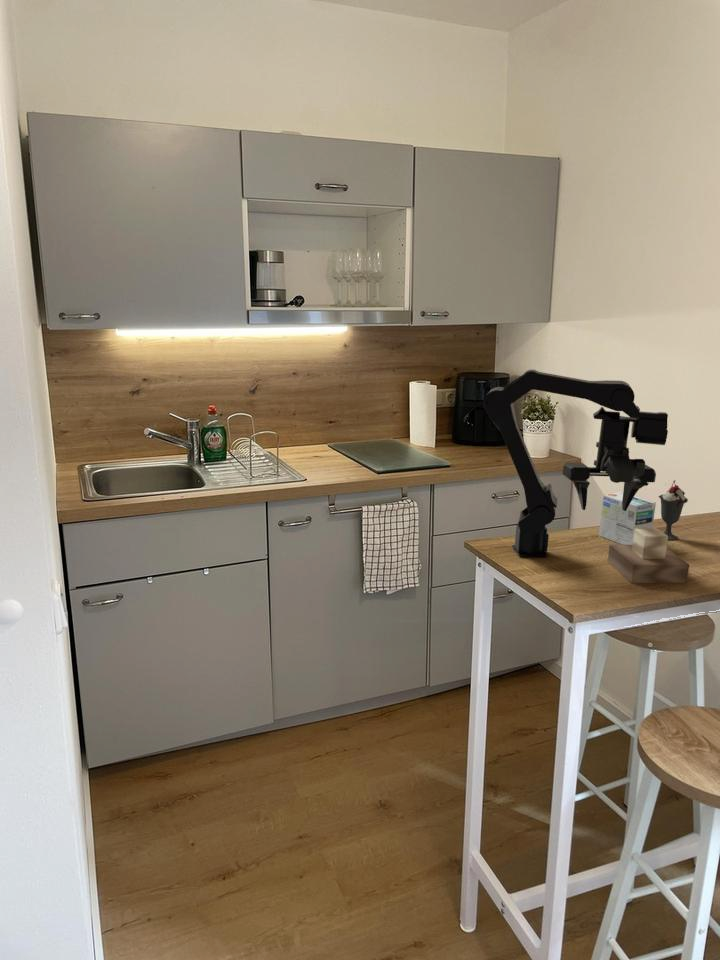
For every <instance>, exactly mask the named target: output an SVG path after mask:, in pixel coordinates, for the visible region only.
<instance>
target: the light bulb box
mask: <svg viewBox="0 0 720 960" xmlns="http://www.w3.org/2000/svg"><path fill="white" fill-rule="evenodd" d="M622 500H623V491H617V492H612V493H611V492H610V493H604V494H603V495H602V502H601V510H600V511H601V512H600V519H599V527H598V536H599V537H602V538H605V539H606V540H610V541H612V542H615V543H617V544H619V545H633V537H634V530H635V529H654V527H653V526H654V519H655V513H656V512H655V511H656V505H657V502H655V501H652V500H648V499H646V498H645V499H644V498H641V497H638V496H636V495H635V496H634V497H633V499H632V501H631V503H630V504H629V506H628V508H627V510H626V511H624V510H622Z"/></svg>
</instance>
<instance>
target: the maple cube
mask: <svg viewBox="0 0 720 960" xmlns="http://www.w3.org/2000/svg"><path fill="white" fill-rule="evenodd" d="M668 541H669V540H668V536H667V535H666V534H664V531H661V530H659V529H658V528H653V529H635V530H634V537H633V545H632V551H633V552H634V553H636V554H637V555H638V556H639V557H641V558H642V559H665V555H666V548H667V546H668ZM667 549H668V548H667Z"/></svg>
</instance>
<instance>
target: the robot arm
mask: <svg viewBox="0 0 720 960" xmlns="http://www.w3.org/2000/svg"><path fill="white" fill-rule="evenodd" d="M532 390H533V391H535V390H536V391H541V392H547V393H552V394H556V395H557V394H558V395H562V396H567V397H573V398H576V399H577V398H578V399H582V400H587V401H590V402H593V403H594V404H597V405H599V406H601V407H599V409H598V410H597V411H595V412H594V413H593V415H592V417H593V419H594V420H601V423H600V430H599V439H598V441H596V443H595V447H596V448H597V454H596V460H593V465H594V466H595V467H593V466H592V467H591V466H587V465H586V464H585V463H583V462H573V461H572V462H569V461H566V462H565V463H564V465H563V467H562V472H561V473H562V475H563V476H564V477H566V479H569V480H570V481H571V482H573V485H574V488H575V489H576V493H577V496H578V500H579V504H580V507H581V510H582V511H586V507H587V501H588V500H587V499H588V488H589V486H590V484H591V482H589V481H588V480H589V479H590V477H609V480H610V482H612V483H615V484H618V483H623V490H622V492H623V500H622V510H624V511H626V510H627V508H628V506H629V504H630V503H631V501H632V499H633V497H634V496H636V494H637V493H638V491H639V490H640V489H641V488H643V487H647V486H648V485H649V483H655V482H656V477H657V474H656V470H655V468H652V467H651V466H648V465H647V464H646V461H645V459H643V458H630V448H629V447H627V446H628V439H629V431H631V432H630V434H631V435H630V437H631V438H632V439H633V438H634V440H635V443H636V444H646V445H658V446H665V445H666V443H667V438H668V433H669V430H668V418H669V415H668V413H667V412H661V411H660V412H651V411H641V409H640V407H639V406H638V405H636V403H635V392H634V390H633V388H632V386H631V385H630V384H629V383H628V382H626V381H623V380H587V379H582V378H581V379H580V378H576V377H571V376H570V377H569V376H565V375H559V374H553V373H550V372H549V373H548V372H542V371H538V370H536V369H528V370H526V371H525V372H523V374H521V375H520V376H518V377H517V378H515V379H513V380H512V381H510V382H508V384H505V385H504V386H503V387H502V386H497V387H493V388H492V389H490V390H489V391H488V392H487V394H486V395H485V396H484V399H483V409H484V410H485V412H486V414H487V415H488V417H489V419H490V420H491V422H492V423H493V424H494V425H495V427H496V429H498V431H499V432H500V434H501V436H502V438H503V441H504V443H505V446H506V449H507V451H508V453H509V456H510V457H511V460H512V463H513V465H514V467H515V469H516V472H517V474H518V477H519V479H520V482H521V485H522V486H523V487H522V488H523V490H524V497H525V498H524V499H525V503H526V504H525V505H526V507H525V508H523V509H522V510H521V511H520V513H519V518H518V522H517V524H515V525H516V527H515V540H514V544H512V549H513V551H515V553H516V554H517V555H518V556H519V557H520V558H523V557H524V558H525V557H526V558H531V557H535V558H536V557H537V558H538V557H539V558H540V557H541V558H542V557H543V558H545V557H548V553H547V552H548V547H549V546H548V545H549V537H550V536H549V534H548V528H547V527H546V526H547V525H549V524H551V523H552V522H553V521H554V519H555V518H556V510H557V507H558V498H557V496H556V495H555V494H554V491H553V486H552V484H551V483H548V484H546V485H545V483H544V482H542V480H541V479H540V476H539V474H538V470H536V467H535V464H534V462H533V460H532V457H531V454H530V452H529V450H528V447H527V445H526V442H525V440H524V438H523V436H522V433H521V430H520V428H519V425H518V422H517V417H516V410H515V404H514V403H515V402H517V401H518V400H519V399H521V398H522V397H524V396H525V395H526V394H528V393H529V392H531V391H532ZM605 408H607V409H609V410H612V411H609V410H606V409H605ZM620 412H623V413H624V414H625V415H627V416H623V415H621V413H620ZM631 423H632V424H631ZM630 425H631V430H630Z"/></svg>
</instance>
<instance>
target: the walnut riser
mask: <svg viewBox="0 0 720 960" xmlns="http://www.w3.org/2000/svg"><path fill="white" fill-rule="evenodd" d="M607 563H608V564H610V565H611V566H612V567H613V568H614V569H615V570H616V571H617V572H618V573H620V574H621V575H622V576H623V578H625V579H626V580H627V581H628V582H630V584H667V583H669V584H671V583H674V584H675V583H678V584H681V583H684V584H685V583H687V582H688V576H689V570H690V564H689V562H687V561H685V560H684V559H682V558H681V557H680V556H678V555H677V554H675V552H673V551H671V550H670V549H668V548H666V555H665V559H642V558H641V557H639V556H638V555H637V554H636V553H634V552H633V551H632V545H622V544H609V547H608V556H607Z"/></svg>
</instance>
